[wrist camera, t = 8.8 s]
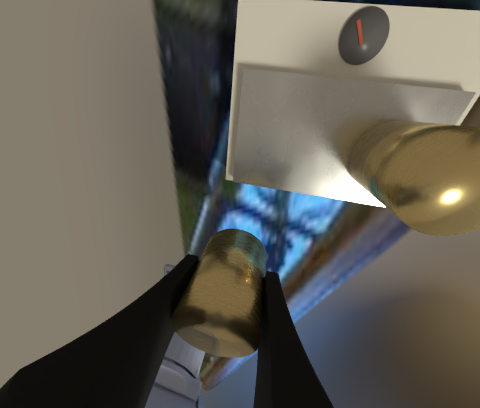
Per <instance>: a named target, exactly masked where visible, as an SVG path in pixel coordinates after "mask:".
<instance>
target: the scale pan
mask: <svg viewBox="0 0 480 408" xmlns="http://www.w3.org/2000/svg"><path fill="white" fill-rule="evenodd" d="M475 94H476V92H469V91H460V90H450V89H440V88H431V87H421V86H411V85H402V84H392V83H382V82H372V81H363V80H353V79H343V78H334V77H324V76H314V75H305V74H295V73H285V72H275V71H266V70H256V69H246V68H243V77H242V88H241V99H240V110H239V120H238V131H237V142H236V153H235V164H234V175H233V182H238V183H244V184H250V185H256V186H262V187H268V188H273V189H279V190H285V191H291V192H297V193H303V194H309V195H315V196H321V197H327V198H333V199H339V200H344V201H350V202H356V203H362V204H368V205H374V206H380V207H385V206H384V205H383V204H382V203H381V202H379V201H378V200H377V199H376V198H375V197H373V196H372V195H371V194H370V193H369V192H368V191H366V190H365V189H364V188H363V187H362V186H361V185H359V184H358V183H357V182H356V181H355V180H354V179H353V178H352V176H351V174H350V172H349V167H348V160H349V156H350V153H351V150H352V148H353V146H354V145H355V143H356V142H357V141H358V139H359V138H360V137H361V136H362V135H363V134H364V133H366V132H367V131H368V130H370V129H371V128H373V127H375V126H377V125H379V124H381V123H384V122H388V121H393V120H404V121H415V122H426V123H437V124H448V125H456V123H457V122H458V120H459V119H460V117H461V116H462V114H463V112H464V111H465V109H466V108H467V106H468V105H469V103H470V102H471V100H472V98H473V97H474V95H475Z"/></svg>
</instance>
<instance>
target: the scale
mask: <svg viewBox="0 0 480 408" xmlns="http://www.w3.org/2000/svg"><path fill="white" fill-rule="evenodd" d="M243 68H246V69H256V70H266V71H275V72H285V73H295V74H305V75H314V76H324V77H334V78H343V79H353V80H363V81H372V82H382V83H392V84H402V85H411V86H421V87H431V88H440V89H450V90H460V91H469V92H476V94H475V95H474V97H473V98H472V100H471V102H470V103H469V105H468V106H467V108H466V109H465V111H464V112H463V114H462V116H461V117H460V119H459V120H458V122H457V123H456V125H459V126H460V124H461V123H462V121H463V120H464V118H465V117H466V115H467V114H468V112H469V110H470V109H471V107H472V106H473V104H474V103H475V101H476V100H477V98H478V97H479V95H480V11H475V10H459V9H442V8H426V7H410V6H394V5H378V4H362V3H346V2H329V1H313V0H238V10H237V24H236V38H235V53H234V67H233V81H232V95H231V110H230V124H229V138H228V152H227V167H226V180H232V181H233V175H234V164H235V153H236V142H237V131H238V120H239V110H240V99H241V88H242V77H243Z"/></svg>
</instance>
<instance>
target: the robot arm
mask: <svg viewBox="0 0 480 408" xmlns="http://www.w3.org/2000/svg"><path fill="white" fill-rule="evenodd" d="M197 265H198V256H195V255H190V254H188V255H187V256H186V257H185V258H184V259H183V260H181V261H180V262H179V263H178V264H177V265H176V266H173V265H165V266H164V273H165V276H164V277H163V278H162V279H161V280H160V281H159V282H158V283H156V284H155V285H154V286H153V287H152V288H150V289H149V290H148V291H147V292H145V293H144V294H143V295H142V296H140V297H139V298H138V299H137V300H135V301H134V302H132V303H131V304H130V305H128V306H127V307H126V308H124V309H123V310H121V311H120V312H118V313H117V314H115V315H114V316H112V317H111V318H109V319H108V320H106V321H105V322H103V323H102V324H100V325H98V326H97V327H95V328H94V329H92V330H90V331H89V332H87V333H85V334H83V335H82V336H80V337H78V338H77V339H75V340H73V341H72V342H70V343H68V344H66V345H65V346H63V347H61V348H59V349H57V350H55V351H54V352H52V353H50V354H48V355H46V356H44V357H42V358H40V359H39V360H37V361H35V362H33V363H31V364H29V365H27V366H25V367H23V368H22V369H20V370H19V371H18V372H17V373H16V374H15V375H14V376H13V377H12V378H10V379H9V380H8V381H7V383H5V385H3V387H2V388H1V389H0V408H205V407H204V400H203V397H202V396H201V395H199V391H200V387H201V384H202V383H201V382H200V381H198V380H197V378H198V375H199V371H200V368H201V364H202V361H203V357H204V354H205V352H204V351H201V350H199V349H197V348H195V347H193V346H191V345H190V344H188V343H187V342H185V341H184V340H183V339H182V338H181V337H180V336H178V334H177V333H176V332H175V330H174V329H173V326H172V323H171V318H172V315H173V313H174V311H175V309H176V307H177V305H178V303H179V301H180V299H181V297H182V295H183V293H184V291H185V289H186V287H187V285H188V283H189V281H190V279H191V277H192V275H193V273H194V271H195V269H196V267H197ZM254 408H334V407H333V405H332V403H331V401H330V400H329V398H328V396H327V394H326V392H325V390H324V388H323V387H322V385H321V383H320V381H319V379H318V377H317V375H316V373H315V371H314V369H313V367H312V365H311V363H310V361H309V359H308V357H307V354H306V352H305V350H304V348H303V346H302V343H301V341H300V339H299V336H298V334H297V332H296V329H295V326H294V324H293V321H292V319H291V316H290V313H289V310H288V307H287V304H286V301H285V298H284V295H283V291H282V287H281V283H280V279H279V275H278V273H274V272H269V271H266V275H265V280H264V294H263V309H262V323H261V338H260V345H259V347H258V363H257V377H256V388H255V398H254Z"/></svg>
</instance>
